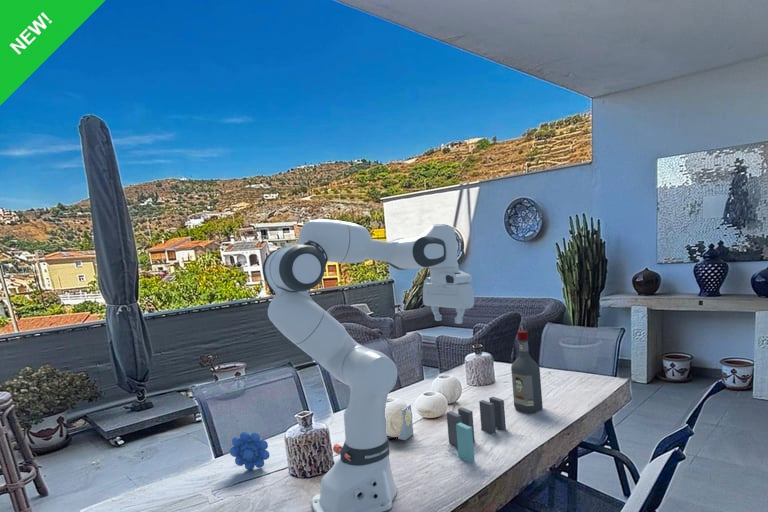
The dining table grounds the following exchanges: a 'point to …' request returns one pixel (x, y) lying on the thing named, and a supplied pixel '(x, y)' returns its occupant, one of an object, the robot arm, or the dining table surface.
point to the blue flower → (249, 450)
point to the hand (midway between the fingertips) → (448, 321)
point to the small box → (406, 430)
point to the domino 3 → (465, 442)
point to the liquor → (526, 379)
